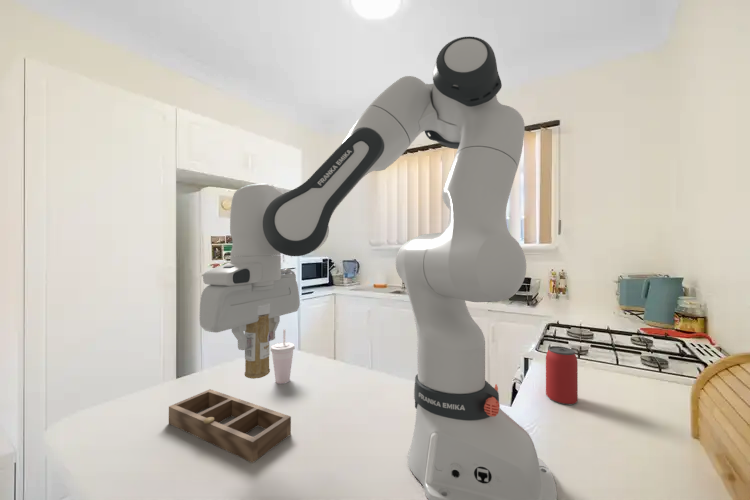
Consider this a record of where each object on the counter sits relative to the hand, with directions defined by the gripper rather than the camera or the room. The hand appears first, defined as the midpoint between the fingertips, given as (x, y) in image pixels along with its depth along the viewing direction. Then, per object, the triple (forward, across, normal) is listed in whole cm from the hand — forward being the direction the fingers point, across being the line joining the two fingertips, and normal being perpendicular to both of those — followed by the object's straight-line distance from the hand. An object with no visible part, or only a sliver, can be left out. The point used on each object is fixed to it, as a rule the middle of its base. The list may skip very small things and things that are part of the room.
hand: (257, 344), depth 57 cm
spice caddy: (+18, 0, -8) cm, 20 cm away
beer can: (+20, -46, +52) cm, 72 cm away
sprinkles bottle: (+6, 0, 0) cm, 6 cm away
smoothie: (+18, -22, -15) cm, 32 cm away
